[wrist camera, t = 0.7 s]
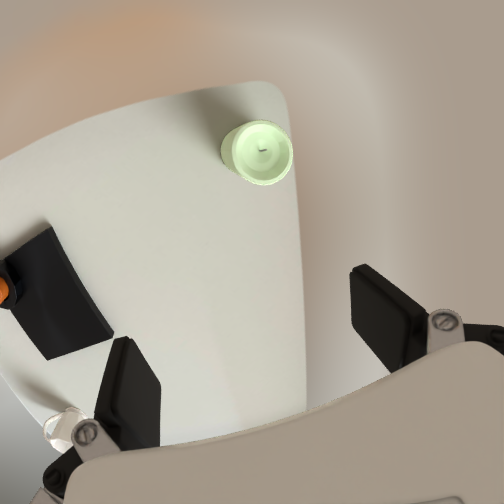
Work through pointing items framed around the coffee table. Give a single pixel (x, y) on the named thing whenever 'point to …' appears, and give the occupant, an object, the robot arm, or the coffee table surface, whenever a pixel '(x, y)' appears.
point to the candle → (258, 152)
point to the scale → (51, 298)
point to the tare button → (3, 290)
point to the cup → (64, 428)
